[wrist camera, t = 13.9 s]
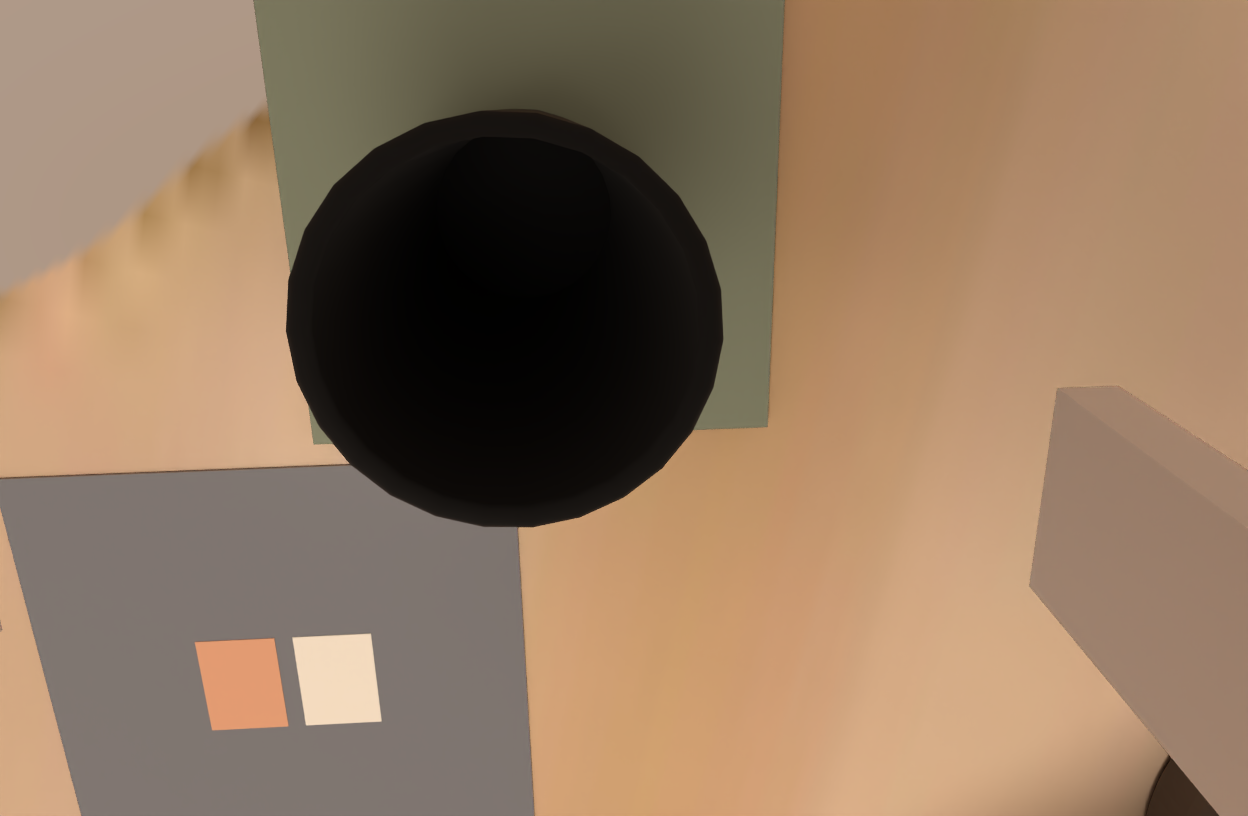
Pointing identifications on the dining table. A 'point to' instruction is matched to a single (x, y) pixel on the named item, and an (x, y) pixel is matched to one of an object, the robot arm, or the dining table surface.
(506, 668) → the tile
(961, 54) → the dining table surface
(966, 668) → the dining table surface
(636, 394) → the cup
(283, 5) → the mat
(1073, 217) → the dining table surface
